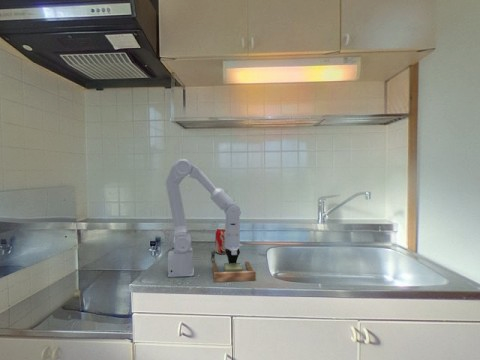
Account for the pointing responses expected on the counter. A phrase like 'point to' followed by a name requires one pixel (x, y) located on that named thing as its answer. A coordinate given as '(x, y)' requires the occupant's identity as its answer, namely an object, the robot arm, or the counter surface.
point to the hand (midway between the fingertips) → (232, 268)
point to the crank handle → (213, 256)
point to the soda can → (220, 240)
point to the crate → (232, 267)
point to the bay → (234, 274)
